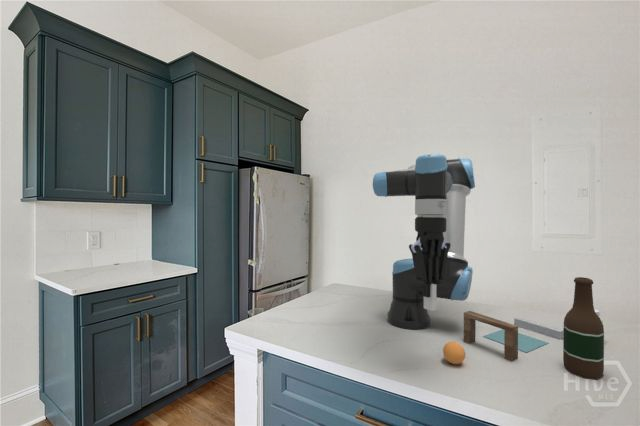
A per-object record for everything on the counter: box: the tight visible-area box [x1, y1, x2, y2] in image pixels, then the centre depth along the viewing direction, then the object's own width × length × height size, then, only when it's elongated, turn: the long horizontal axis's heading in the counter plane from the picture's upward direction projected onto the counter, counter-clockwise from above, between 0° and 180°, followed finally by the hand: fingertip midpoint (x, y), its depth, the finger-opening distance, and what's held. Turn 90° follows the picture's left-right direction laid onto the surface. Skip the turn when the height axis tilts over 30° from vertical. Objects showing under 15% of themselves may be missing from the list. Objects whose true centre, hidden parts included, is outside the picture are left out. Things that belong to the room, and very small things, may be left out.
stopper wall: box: [513, 317, 563, 340], centre depth 102 cm, size 14×2×2 cm, turn 29°
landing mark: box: [482, 329, 549, 354], centre depth 96 cm, size 13×13×1 cm
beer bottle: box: [562, 276, 605, 381], centre depth 77 cm, size 8×8×24 cm
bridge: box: [463, 310, 519, 362], centre depth 89 cm, size 3×14×9 cm, turn 30°
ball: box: [442, 341, 466, 365], centre depth 81 cm, size 6×6×6 cm
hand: (429, 309), depth 76 cm, fingers closed
